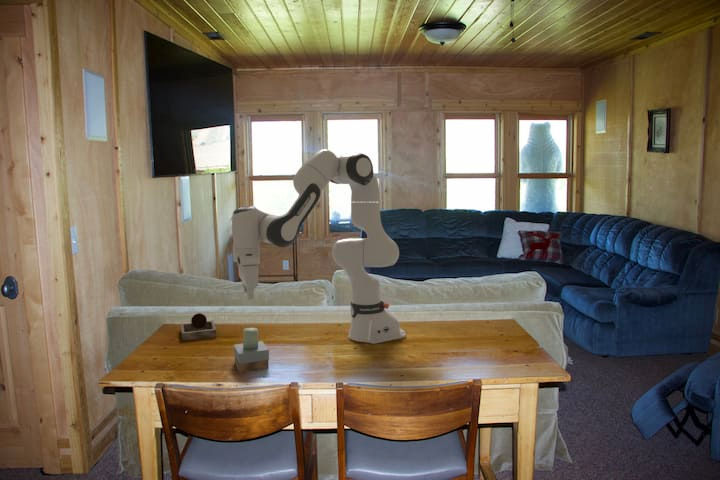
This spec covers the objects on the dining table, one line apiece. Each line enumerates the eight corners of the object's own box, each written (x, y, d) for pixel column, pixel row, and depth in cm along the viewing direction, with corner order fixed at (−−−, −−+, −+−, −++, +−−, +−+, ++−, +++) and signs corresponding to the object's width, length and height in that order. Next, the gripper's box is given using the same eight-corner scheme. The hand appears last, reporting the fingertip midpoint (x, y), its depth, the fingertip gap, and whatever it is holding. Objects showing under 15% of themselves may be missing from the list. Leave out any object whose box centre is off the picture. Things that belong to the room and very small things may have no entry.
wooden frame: (213, 327, 241) (213, 320, 240) (216, 336, 229) (216, 329, 228) (181, 331, 237) (180, 324, 236) (182, 340, 224) (181, 333, 224)
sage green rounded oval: (256, 344, 200) (256, 327, 199) (259, 348, 195) (259, 331, 195) (242, 345, 198) (242, 328, 198) (244, 349, 194) (244, 332, 193)
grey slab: (262, 350, 204) (262, 340, 203) (269, 359, 195) (268, 349, 194) (234, 354, 200) (233, 344, 200) (239, 364, 191) (238, 354, 191)
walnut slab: (263, 360, 204) (263, 350, 204) (268, 370, 195) (268, 360, 194) (234, 363, 201) (234, 354, 200) (238, 374, 192) (238, 364, 191)
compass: (192, 336, 230) (190, 318, 229) (191, 330, 237) (190, 313, 236) (212, 334, 232) (211, 316, 231) (211, 328, 240) (210, 311, 238)
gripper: (233, 250, 201) (235, 289, 203) (241, 261, 182) (243, 303, 184) (251, 249, 203) (253, 287, 205) (261, 259, 184) (262, 301, 186)
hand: (248, 295), depth 194 cm, fingers open, 8 cm apart
